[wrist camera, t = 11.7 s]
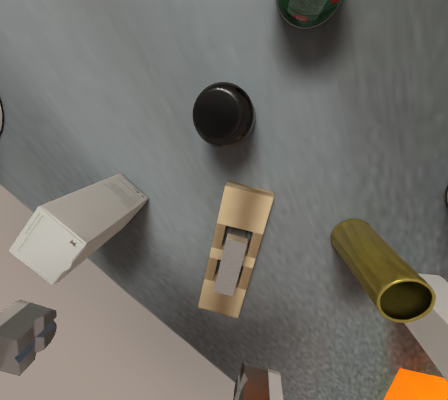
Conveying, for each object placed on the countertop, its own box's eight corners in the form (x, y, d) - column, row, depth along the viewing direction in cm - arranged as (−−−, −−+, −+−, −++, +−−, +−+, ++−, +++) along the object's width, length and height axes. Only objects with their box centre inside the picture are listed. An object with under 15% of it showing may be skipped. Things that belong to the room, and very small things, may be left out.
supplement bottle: (253, 88, 33) (251, 68, 21) (257, 139, 34) (257, 147, 23) (204, 95, 34) (177, 81, 22) (210, 145, 36) (188, 154, 24)
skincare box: (121, 171, 39) (37, 200, 24) (152, 200, 40) (89, 245, 25) (94, 205, 41) (3, 250, 27) (123, 231, 42) (50, 289, 27)
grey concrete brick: (219, 268, 42) (213, 291, 36) (230, 222, 39) (226, 238, 33) (236, 273, 41) (232, 296, 36) (248, 226, 39) (247, 244, 33)
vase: (382, 232, 36) (457, 296, 23) (354, 261, 38) (408, 336, 24) (348, 211, 36) (403, 263, 22) (322, 241, 38) (358, 307, 24)
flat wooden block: (201, 295, 44) (198, 307, 41) (227, 180, 37) (225, 185, 34) (239, 305, 43) (237, 318, 41) (272, 191, 36) (273, 197, 34)
